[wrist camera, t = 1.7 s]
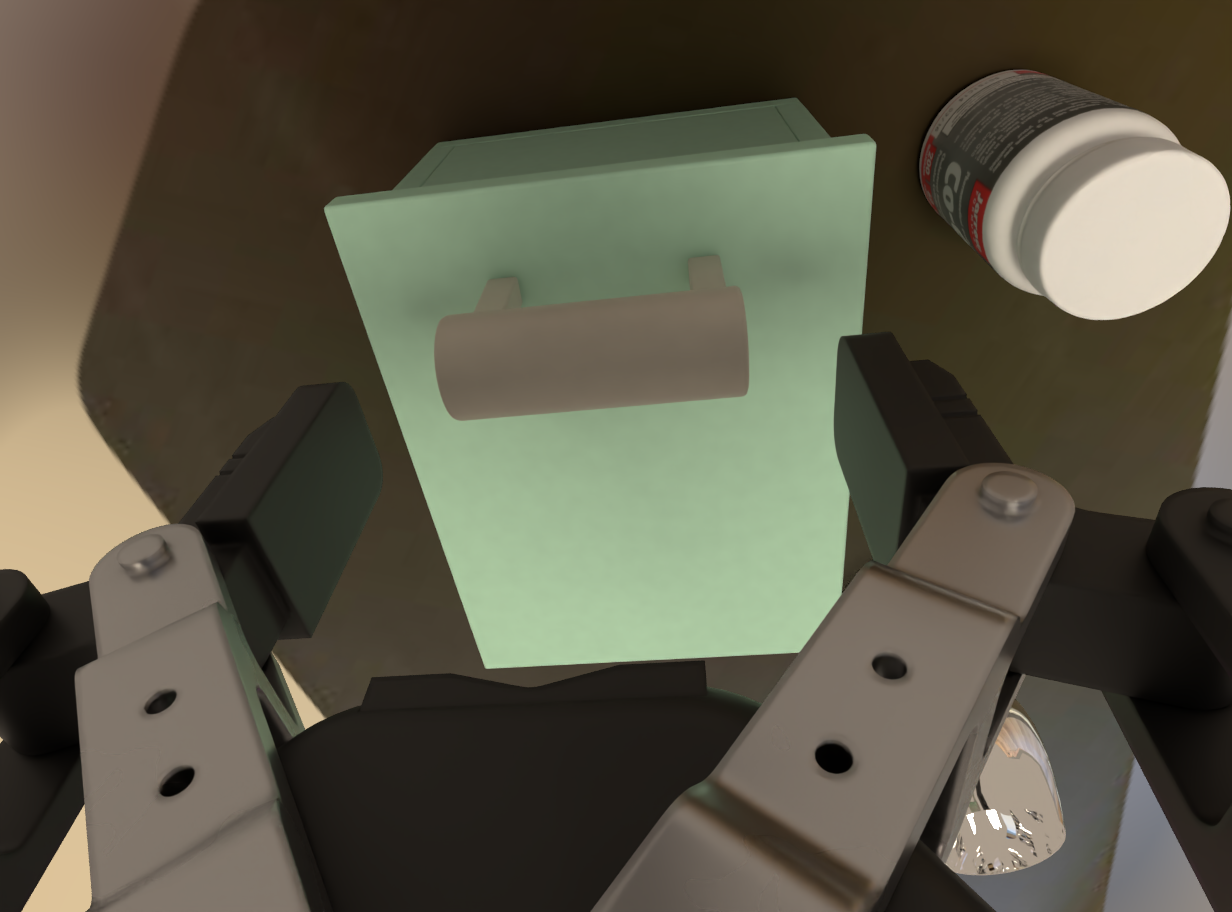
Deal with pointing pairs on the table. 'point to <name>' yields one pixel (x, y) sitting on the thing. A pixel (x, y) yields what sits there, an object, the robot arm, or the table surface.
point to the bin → (616, 142)
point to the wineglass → (1011, 805)
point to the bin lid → (626, 392)
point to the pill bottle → (1073, 194)
